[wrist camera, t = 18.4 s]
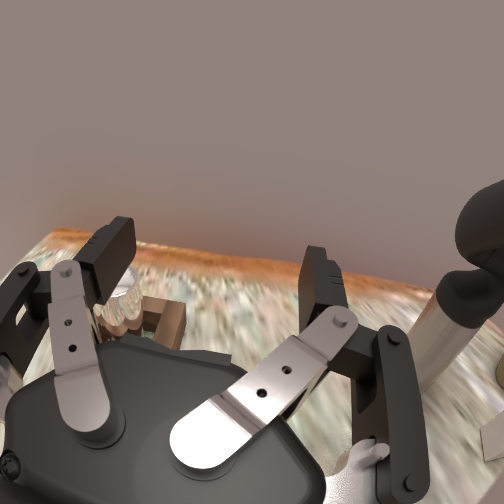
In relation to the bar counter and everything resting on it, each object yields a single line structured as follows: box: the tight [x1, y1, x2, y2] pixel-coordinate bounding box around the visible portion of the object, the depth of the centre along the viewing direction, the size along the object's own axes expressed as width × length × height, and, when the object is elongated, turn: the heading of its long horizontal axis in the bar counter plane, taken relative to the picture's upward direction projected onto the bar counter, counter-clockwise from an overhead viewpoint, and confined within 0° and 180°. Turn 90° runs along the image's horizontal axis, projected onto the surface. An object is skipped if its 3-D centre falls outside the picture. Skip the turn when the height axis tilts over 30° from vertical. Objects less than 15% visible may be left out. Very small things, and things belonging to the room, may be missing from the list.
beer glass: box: [93, 265, 145, 341], centre depth 37 cm, size 7×7×15 cm
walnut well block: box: [95, 296, 186, 350], centre depth 40 cm, size 15×15×5 cm
